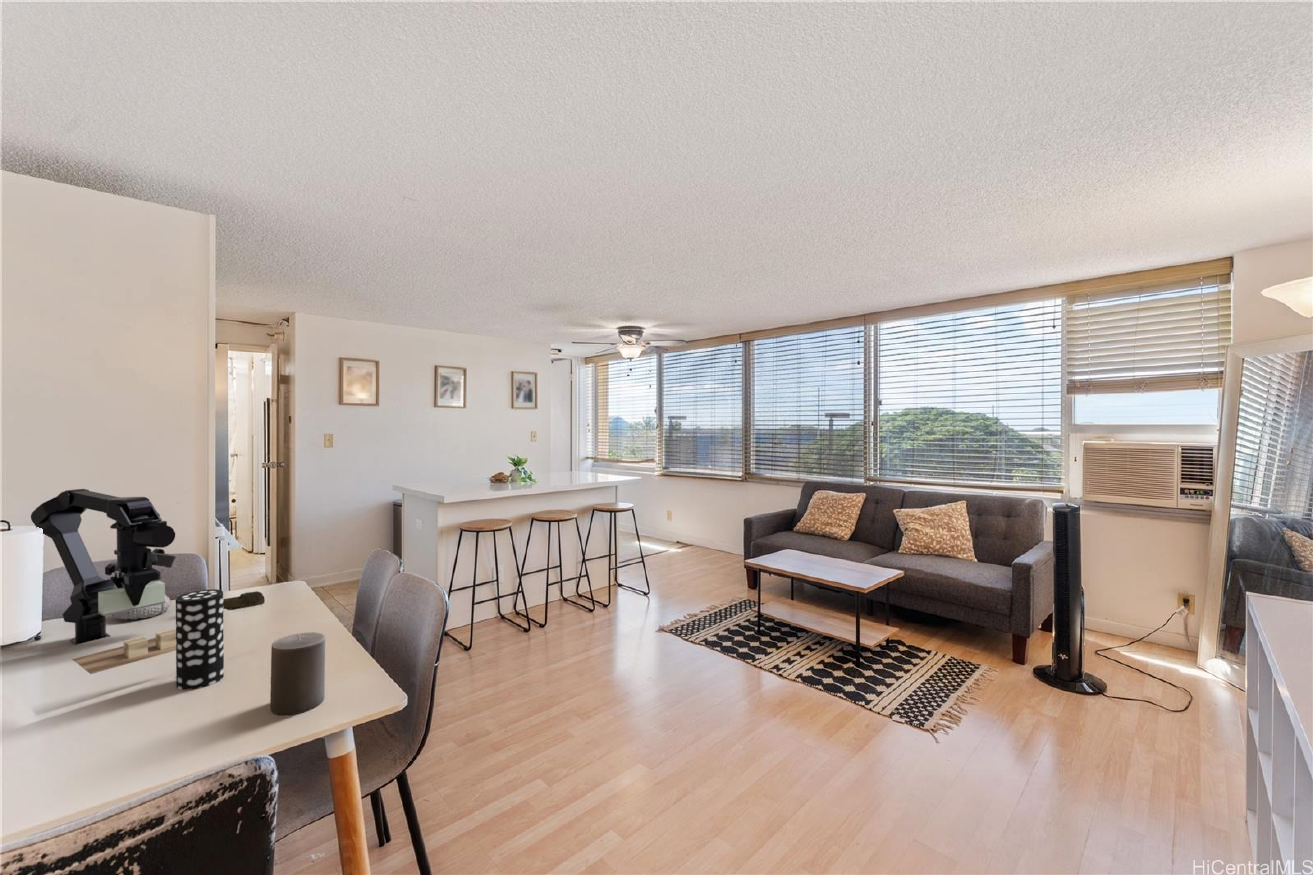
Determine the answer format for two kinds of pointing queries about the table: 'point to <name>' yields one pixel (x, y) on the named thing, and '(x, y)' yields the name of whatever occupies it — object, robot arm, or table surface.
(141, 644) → the pine offcut left
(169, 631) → the pine offcut right
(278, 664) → the pillar candle
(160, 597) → the sanding block
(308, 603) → the table surface
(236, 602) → the hand tool
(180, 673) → the spotted tube
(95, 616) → the robot arm
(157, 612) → the sea urchin shell
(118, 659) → the walnut board
